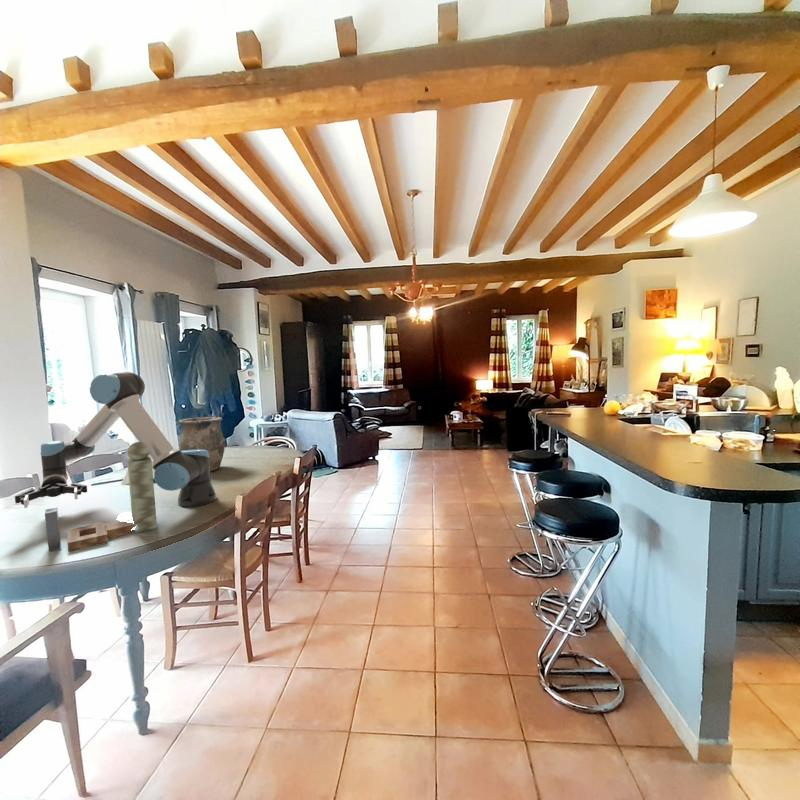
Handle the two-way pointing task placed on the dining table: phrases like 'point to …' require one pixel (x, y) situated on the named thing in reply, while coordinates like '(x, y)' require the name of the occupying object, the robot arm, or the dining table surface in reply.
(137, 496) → the knobbed post on base
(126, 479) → the wall
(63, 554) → the dining table surface
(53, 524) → the grey rectangular block
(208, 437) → the clay pot
